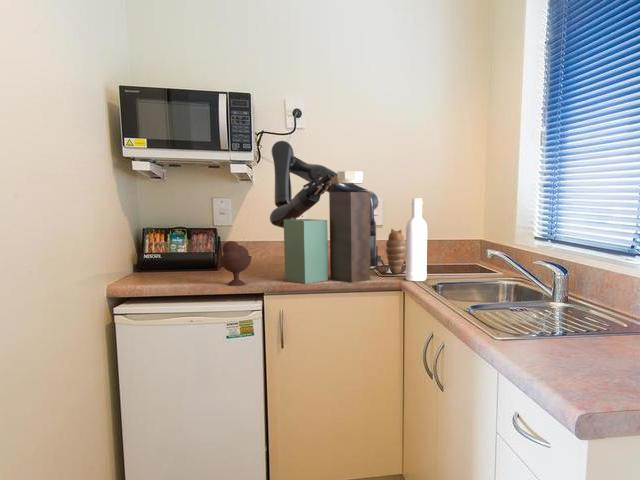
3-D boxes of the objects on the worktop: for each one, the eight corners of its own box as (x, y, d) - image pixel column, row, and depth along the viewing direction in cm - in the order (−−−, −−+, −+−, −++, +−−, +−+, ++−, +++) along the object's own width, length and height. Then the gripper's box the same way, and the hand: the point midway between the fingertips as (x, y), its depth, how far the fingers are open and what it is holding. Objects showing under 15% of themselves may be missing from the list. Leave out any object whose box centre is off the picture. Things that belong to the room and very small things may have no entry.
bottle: (416, 277, 197) (417, 198, 193) (430, 279, 192) (432, 198, 187) (400, 279, 192) (401, 198, 187) (415, 282, 186) (416, 198, 182)
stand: (349, 276, 198) (348, 192, 193) (370, 279, 191) (370, 192, 186) (330, 279, 190) (329, 192, 185) (351, 282, 183) (351, 192, 178)
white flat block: (330, 184, 198) (330, 173, 197) (367, 183, 186) (367, 172, 185) (312, 183, 190) (312, 172, 190) (350, 182, 179) (350, 171, 178)
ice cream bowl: (232, 288, 170) (230, 242, 167) (213, 284, 176) (211, 240, 174) (259, 284, 178) (257, 240, 176) (240, 280, 185) (238, 239, 182)
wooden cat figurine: (409, 274, 206) (410, 229, 203) (397, 276, 200) (397, 230, 197) (393, 271, 211) (393, 228, 209) (380, 273, 205) (380, 228, 203)
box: (308, 277, 195) (307, 219, 192) (328, 280, 189) (327, 220, 185) (285, 280, 187) (283, 219, 183) (305, 283, 180) (303, 220, 177)
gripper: (288, 190, 196) (314, 166, 185) (315, 191, 207) (341, 168, 196) (295, 207, 195) (321, 184, 184) (322, 207, 205) (348, 185, 195)
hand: (331, 176), depth 190 cm, fingers closed on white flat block, 2 cm apart
